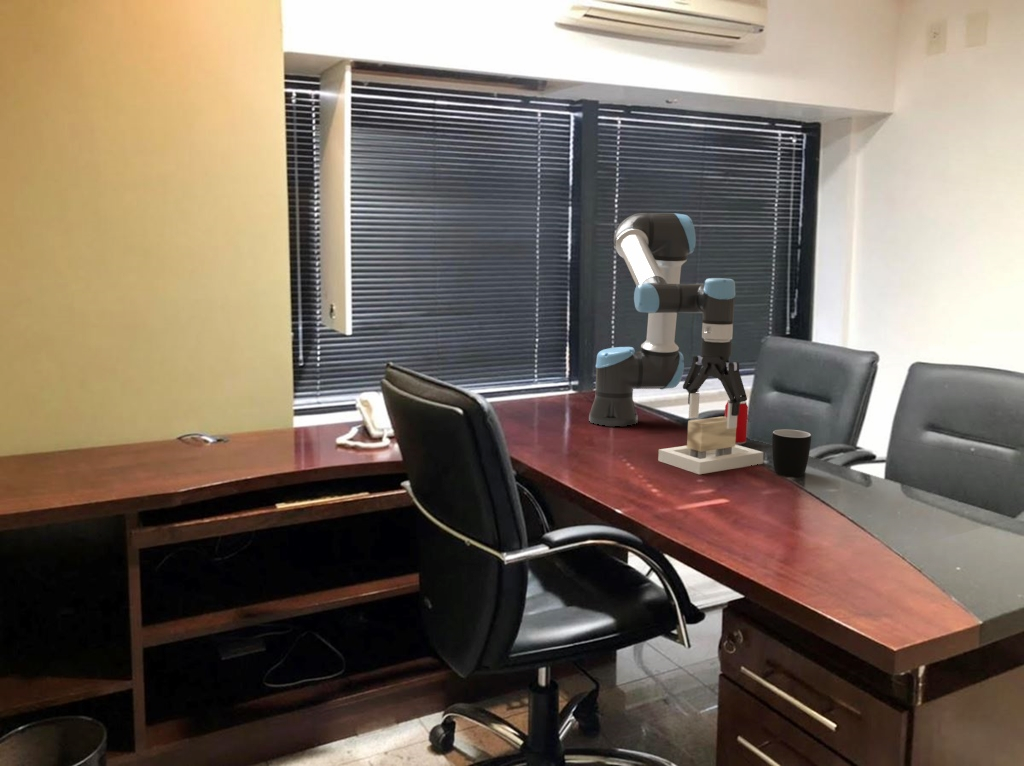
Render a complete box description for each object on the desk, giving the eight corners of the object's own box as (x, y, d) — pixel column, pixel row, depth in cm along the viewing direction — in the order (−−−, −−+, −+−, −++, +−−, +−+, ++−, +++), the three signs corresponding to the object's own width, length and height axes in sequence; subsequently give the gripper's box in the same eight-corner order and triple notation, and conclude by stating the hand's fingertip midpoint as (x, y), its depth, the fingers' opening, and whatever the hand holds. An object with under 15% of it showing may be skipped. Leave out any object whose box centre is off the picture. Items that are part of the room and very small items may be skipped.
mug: (815, 477, 206) (818, 436, 204) (780, 479, 204) (783, 437, 203) (791, 465, 217) (794, 426, 216) (758, 466, 216) (760, 427, 214)
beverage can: (744, 440, 244) (746, 399, 242) (747, 445, 238) (750, 403, 236) (721, 440, 245) (724, 398, 243) (725, 445, 239) (727, 402, 237)
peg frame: (658, 460, 220) (658, 445, 219) (720, 451, 231) (721, 436, 230) (699, 474, 207) (699, 458, 206) (762, 463, 218) (763, 448, 218)
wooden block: (686, 447, 218) (688, 420, 216) (720, 442, 224) (722, 416, 223) (700, 451, 213) (702, 424, 212) (735, 446, 220) (736, 419, 218)
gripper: (671, 335, 223) (668, 414, 226) (743, 346, 202) (737, 434, 205) (693, 334, 227) (689, 412, 230) (765, 345, 206) (759, 430, 209)
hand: (712, 422), depth 218 cm, fingers open, 13 cm apart
